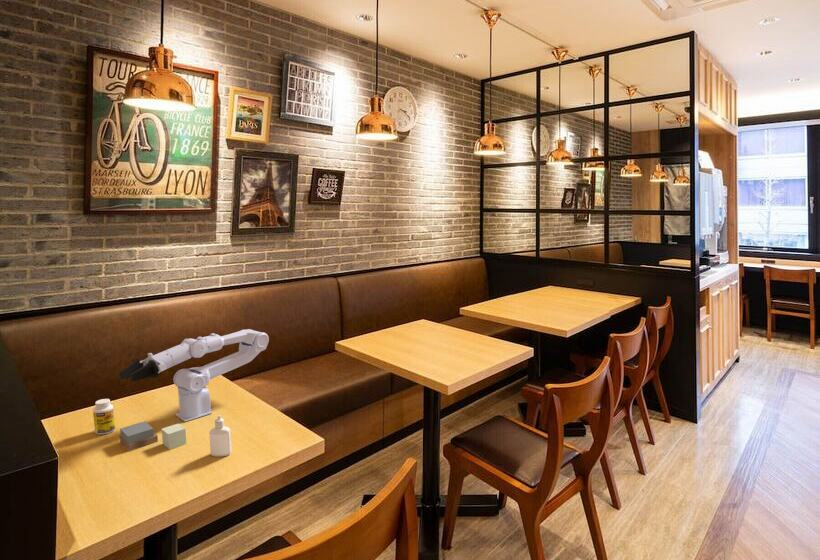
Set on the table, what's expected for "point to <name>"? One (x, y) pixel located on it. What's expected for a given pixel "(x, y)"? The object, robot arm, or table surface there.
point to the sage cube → (174, 436)
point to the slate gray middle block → (137, 432)
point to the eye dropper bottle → (220, 439)
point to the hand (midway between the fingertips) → (125, 377)
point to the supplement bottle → (103, 417)
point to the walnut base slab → (139, 442)
